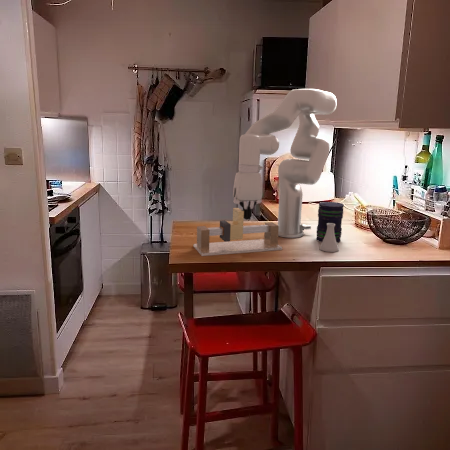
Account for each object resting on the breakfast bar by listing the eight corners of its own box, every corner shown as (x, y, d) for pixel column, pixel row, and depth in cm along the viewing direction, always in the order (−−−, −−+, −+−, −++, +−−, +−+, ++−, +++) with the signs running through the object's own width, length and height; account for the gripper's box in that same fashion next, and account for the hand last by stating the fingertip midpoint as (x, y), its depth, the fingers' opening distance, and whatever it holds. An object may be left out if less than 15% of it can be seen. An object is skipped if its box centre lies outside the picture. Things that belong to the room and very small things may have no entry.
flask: (335, 253, 162) (337, 227, 160) (316, 250, 166) (318, 224, 163) (341, 249, 168) (343, 223, 166) (323, 245, 172) (325, 220, 169)
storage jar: (334, 236, 186) (337, 201, 182) (345, 242, 176) (348, 206, 173) (312, 237, 184) (314, 201, 180) (321, 243, 174) (324, 206, 171)
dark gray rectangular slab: (224, 236, 166) (224, 220, 165) (230, 241, 161) (230, 224, 159) (219, 237, 166) (219, 220, 164) (224, 241, 160) (225, 224, 158)
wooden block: (237, 235, 168) (238, 207, 165) (242, 239, 162) (243, 211, 160) (224, 235, 166) (225, 208, 164) (229, 240, 161) (230, 211, 158)
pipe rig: (269, 241, 176) (270, 220, 174) (282, 249, 165) (283, 227, 163) (193, 246, 166) (193, 224, 164) (201, 256, 155) (202, 232, 153)
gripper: (263, 168, 166) (261, 215, 170) (226, 168, 161) (224, 217, 165) (272, 170, 159) (269, 220, 163) (232, 170, 154) (231, 222, 158)
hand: (246, 218), depth 164 cm, fingers closed
